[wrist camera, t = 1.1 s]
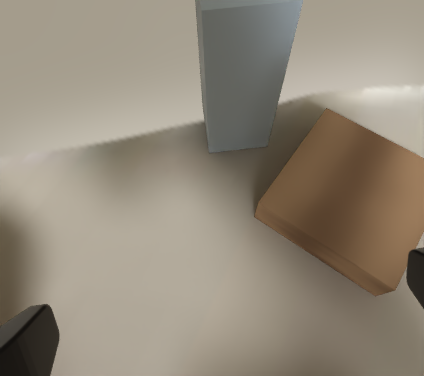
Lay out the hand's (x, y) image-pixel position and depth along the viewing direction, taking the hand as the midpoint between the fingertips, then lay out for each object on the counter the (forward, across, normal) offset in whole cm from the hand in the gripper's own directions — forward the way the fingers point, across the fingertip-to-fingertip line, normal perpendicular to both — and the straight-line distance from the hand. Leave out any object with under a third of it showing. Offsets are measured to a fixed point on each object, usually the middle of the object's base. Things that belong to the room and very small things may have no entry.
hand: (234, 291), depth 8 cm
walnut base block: (+14, -9, +5) cm, 18 cm away
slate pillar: (+19, -3, -1) cm, 20 cm away
